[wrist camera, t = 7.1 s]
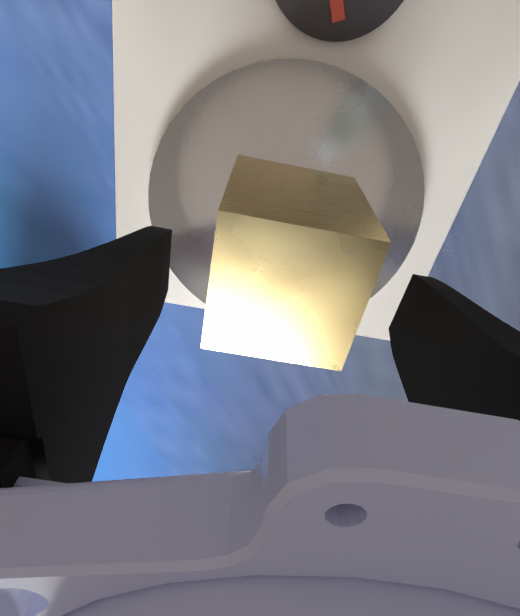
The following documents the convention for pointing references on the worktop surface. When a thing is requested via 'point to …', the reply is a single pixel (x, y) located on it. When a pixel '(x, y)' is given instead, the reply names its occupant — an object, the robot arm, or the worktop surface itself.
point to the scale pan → (283, 154)
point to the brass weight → (291, 264)
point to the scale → (337, 52)
